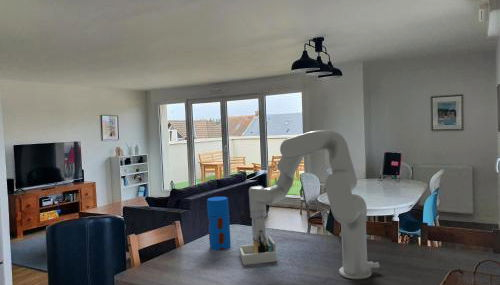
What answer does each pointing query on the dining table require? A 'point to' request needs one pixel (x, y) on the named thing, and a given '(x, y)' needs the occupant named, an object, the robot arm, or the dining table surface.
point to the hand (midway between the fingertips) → (260, 251)
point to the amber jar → (255, 243)
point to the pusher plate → (268, 246)
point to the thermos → (218, 223)
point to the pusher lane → (257, 254)
